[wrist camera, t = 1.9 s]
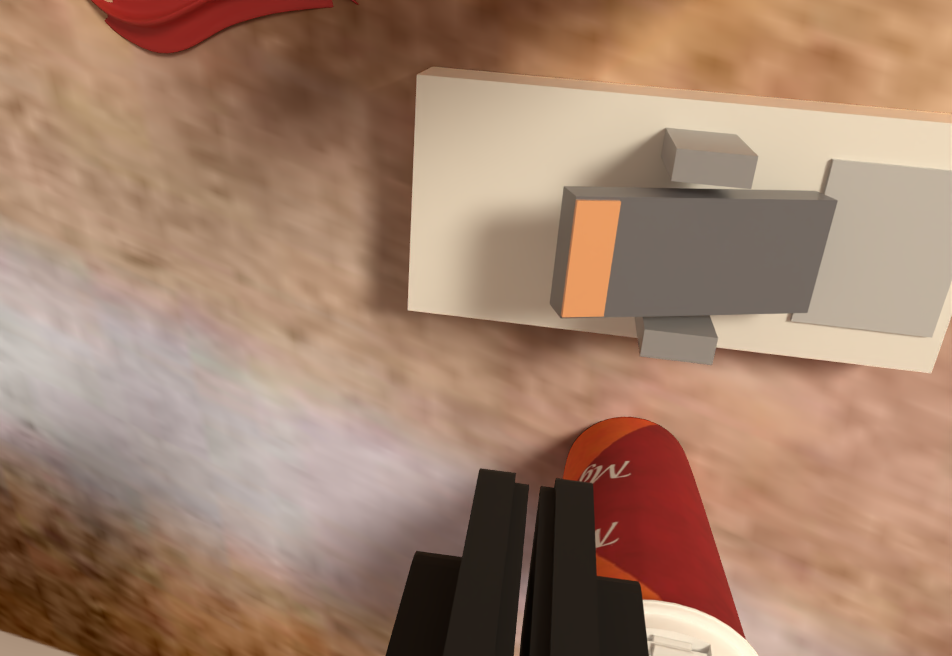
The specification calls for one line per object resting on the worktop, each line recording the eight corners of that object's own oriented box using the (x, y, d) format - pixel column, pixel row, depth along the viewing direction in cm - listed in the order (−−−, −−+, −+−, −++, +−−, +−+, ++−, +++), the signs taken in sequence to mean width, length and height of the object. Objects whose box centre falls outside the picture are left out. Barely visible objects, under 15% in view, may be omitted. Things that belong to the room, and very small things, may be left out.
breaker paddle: (815, 190, 26) (840, 201, 25) (787, 299, 28) (810, 314, 27) (563, 186, 24) (577, 197, 23) (549, 303, 26) (561, 320, 25)
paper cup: (561, 379, 35) (544, 607, 22) (733, 415, 34) (818, 668, 21) (528, 518, 38) (497, 787, 25) (685, 552, 37) (734, 843, 25)
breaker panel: (975, 115, 28) (1084, 151, 22) (902, 339, 32) (977, 425, 26) (432, 66, 30) (391, 87, 24) (422, 283, 34) (384, 350, 27)
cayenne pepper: (76, 33, 32) (46, 35, 30) (73, -93, 30) (41, -99, 28) (359, 96, 31) (346, 102, 29) (375, -29, 29) (362, -30, 28)
